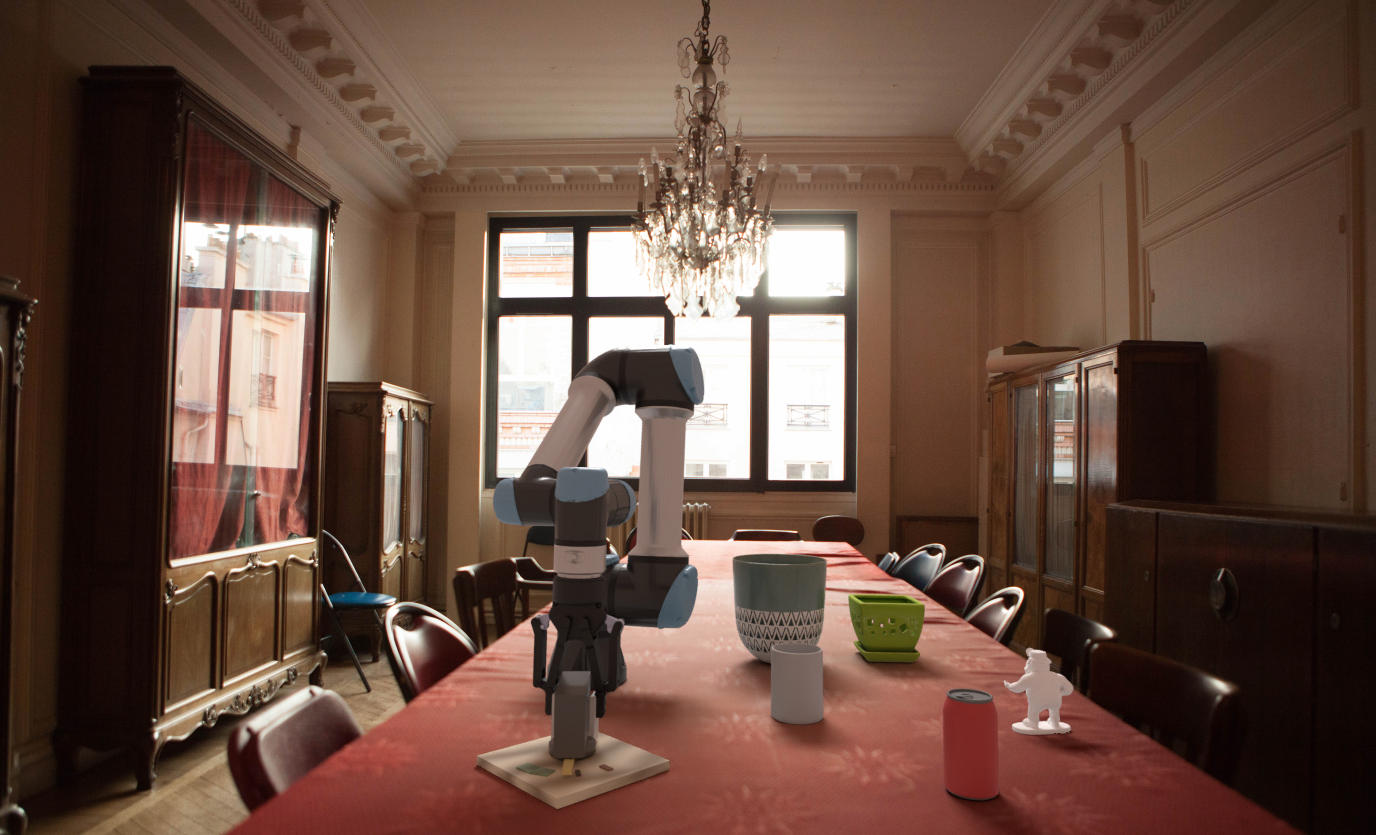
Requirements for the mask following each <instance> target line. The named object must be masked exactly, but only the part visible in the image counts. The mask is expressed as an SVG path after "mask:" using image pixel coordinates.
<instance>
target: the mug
mask: <svg viewBox="0 0 1376 835" xmlns="http://www.w3.org/2000/svg"><path fill="white" fill-rule="evenodd" d="M770 669H771V670H770V678H771V679H770V684H771V686H770V689H771V690H770V693H771V694H770V715H771V717H772V718H773V719H774V720H776V721H778V722H780V723H786V724H790V725H810V724H815V723H816V724H817V723H819V722H821V721H822V720H823V718H824V651H823V648H822V647H820V646H819V645H812V644H806V643H781V644H776V645H774V646H772V648H771V663H770Z"/></svg>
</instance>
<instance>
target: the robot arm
mask: <svg viewBox="0 0 1376 835" xmlns="http://www.w3.org/2000/svg"><path fill="white" fill-rule="evenodd" d="M704 381H705V379H704V372H703V369H702V365H701V361H700V358H699V356H698V353H697V351H696V350H695V349H694V348H692V347H691V346H689V345H676V344H675V345H674V344H672V343H671V344H668V345H667V344H666V345H663V344H662V345H649V346H646V345H644V346H619V347H615V348H612V349H609V350H607V351H605V352H603V353H601V354H600V355H598V356H596V357H595V358H593V359H592V360H590V361H589V362H588V363H587V364H586V365H584V366H583V367H582V368H581V369H580V370H579V372H577V374H576V375H575V376H574V378H573V379H572V381H571V383H570V384H569V387H568V389H567V397H568V398H567V399H566V401H565V403H564V405H563V406H562V408H561V409H560V411H559V413H558V414H557V416H556V418H555V420H554V421H553V423H552V424H551V426H550V427H549V429H548V430H547V433H546V434H545V435H544V437H543V439H542V441H541V442H540V444H539V445H538V447H537V448H536V451H535V452H534V453H533V455H532V457H531V458H530V461H529V462H528V463H527V465H526V467H525V468H524V470H522V473H521V475H520V476H519V477H518V478H516V477H515V476H513V477H511V478H504V479H502V480H500V481H499V482H498V483H497V484H496V486H495V488H494V491H493V495H492V497H493V498H492V507H493V511H494V514H495V518H496V519H497V520H498V521H499V522H500V523H502V524H504V525H505V524H506V525H516V526H522V527H525V526H527V527H529V526H533V527H535V526H537V527H543V526H544V527H554V540H553V543H554V544H553V571H554V572H555V573H557V574H555V575H554V577H553V578H552V602H551V607H550V609H549V612H548V613H545V614H538V615H536V616H534V617H533V618H531V620H530V626H531V629H532V631H533V634H534V635H533V663H532V664H533V666H532V668H533V669H532V686H533V687H534V688H535V689H538V688H539V689H540V690H543V691H544V693H545V694H544V695H545V702H544V703H545V705H544V706H545V707H544V712H545V715H546V716H551V723H550V727H551V728H550V730H551V731H550V736H551V739H553V738H554V698H555V692H556V690H557V687H558V684H559V681H560V678H561V675H562V672H563V671H590V690H594V691H593V692H592V694H590V715H589V736H591V737H593V738H595V740H597V738H598V732H599V727H600V726H599V724H600V723H599V722H600V719H603V718H604V717H605V715H606V712H607V694H609V693H613V692H615V691H616V690H617V689H618V687H619V686H620V684H622V683H623V682H625V681H626V680H627V678H628V676H627V674H628V672H627V670H628V669H627V663H626V660H625V656H624V653H623V650H622V647H621V644H622V643H621V642H622V639H621V638H622V633H623V631H624V628H625V627H640V628H653V629H657V628H658V630H663V629H680V628H683V627H684V626H685V625H686V624H687V623H688V622H689V621H690V618H691V616H692V613H693V611H694V608H695V604H696V601H697V600H696V599H697V595H698V589H699V578H698V577H699V575H698V574H699V573H698V569H697V567H696V566H695V565H692V564H690V555H689V553H687V551H686V550H685V549H684V548H683V545H682V541H683V540H682V538H683V534H682V533H683V512H684V510H683V509H684V484H685V461H686V459H685V456H686V432H687V428H686V427H687V423H688V421H689V420H690V419H691V418H692V417H694V415H695V406H698V405H701V404H703V402H704V397H705V382H704ZM619 406H634V413H635V415H637V416H638V418H639V419H640V420H641V435H640V436H641V438H640V439H641V440H640V461H639V479H638V480H639V483H638V500H637V497H636V493H635V491H634V489H633V488H632V486H631V485H629V483H627V482H626V481H623V480H621V479H617V478H609V473H608V471H607V469H606V468H604V467H588V466H587V467H586V466H585V467H584V466H583V467H581V466H580V467H579V466H578V465H579V464H580V462H581V460H582V458H583V456H584V455H585V453H586V451H587V449H588V447H589V445H590V443H591V441H592V439H593V438H594V436H595V434H596V432H597V430H598V428H599V426H600V424H601V422H602V420H604V418H605V417H607V416H608V415H610V414H611V413H612V412H613V411H614V409H615V408H616V407H619ZM637 501H638V502H637ZM637 503H638V504H637ZM636 509H637V524H636V543H635V546H633V548H632V549H631V550H630V551H629V552H628V553H627V562H621V559H620V556H619V555H618V554H607V538H608V537H607V536H608V535H607V534H608V533H607V532H608V528H617V527H618V526H621V525H623V524H624V523H626V522H628V521H629V520H630V519H631V518H632V517H633V515H634V514H635V511H636ZM550 622H551V624H552V625H553V626H554V628H555V629H556V632H557V633H556V641H555V644H554V647H553V650H552V653H551V656H550V659H549V663H548V665H547V657H548V654H547V652H548V649H547V648H548V629H549V627H550Z"/></svg>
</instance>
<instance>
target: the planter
mask: <svg viewBox="0 0 1376 835" xmlns="http://www.w3.org/2000/svg"><path fill="white" fill-rule="evenodd" d="M731 559H732V562H731V563H732V578H733V579H732V581H733V599H734V602H733V603H734V617H735V625H736V630H737V633H738V636H739V638H740V641H741V643H742V644H743V646H744V647H745V649H747V651H748V653H750V654H751V655H752V656H753V657H755V658H757V659H758V660H759V661H761V662H764V663H767V664H771V648H772V646H774V645H776V644H781V643H806V644H812V645H816V646H818V643H819V641H820V639H821V636H822V632H823V628H824V624H825V622H824V621H825V608H826V607H825V604H826V588H827V586H826V585H827V572H828V569H827V567H828V560H827V559H826V558H824V557H820V556H815V555H806V554H792V553H791V554H790V553H752V554H740V555H735V556H733V557H732V558H731Z"/></svg>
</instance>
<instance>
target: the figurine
mask: <svg viewBox="0 0 1376 835" xmlns="http://www.w3.org/2000/svg"><path fill="white" fill-rule="evenodd" d="M1025 653H1026V656H1027V657H1028V659H1027V660H1026V663H1025V666H1024V667H1023V669H1024V672H1025V673H1024V674H1023V675H1022V676H1021V677H1020V678H1019V679H1018V681H1015V682H1012V683H1010V682H1008V681H1007V680H1005V679H1004V680H1003V684H1004V687H1005V688H1007V689H1008V690H1009V691H1010V692H1012V693H1016V694H1020V693H1023V692H1024V691H1025V696H1026V697H1027V703H1028V707H1027V717H1026V718H1024V719H1023V720H1022V721H1021V722H1015V723H1013V724H1012V725H1011V730H1012V731H1013V732H1015V733H1018V734H1021V735H1030V736H1031V735H1032V736H1035V735H1040V736H1041V735H1058V734H1057V733H1061V734H1067V733H1066V732H1068V733H1070V732H1069V731H1072V728H1071V725H1070V724H1068V723H1065V722H1063V721H1062V722H1061V718H1060V708H1061V707H1062V702H1063V700H1062V698H1063V697H1064V696H1065V697H1066V696H1067V697H1069V695H1071V694H1072V693H1073V691H1074V685H1073V684H1072V683H1071V682H1070V681H1069V680H1068V679H1067V678H1066V676H1064V675H1062V674H1061V673H1057V672H1054V671H1051V670H1050V668H1051V666H1050V664H1052V660H1051V659H1050V658H1049V657H1048V656H1047V652H1046V651H1045V650H1044V651H1043V650H1040V649H1034V648H1031V647H1028V648H1026V650H1025ZM1045 710H1048V712H1049V717H1048V718H1047V720H1042V721H1041V720H1040V716H1039V715H1040V713H1042V712H1043V711H1045ZM1054 733H1056V734H1054Z"/></svg>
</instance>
